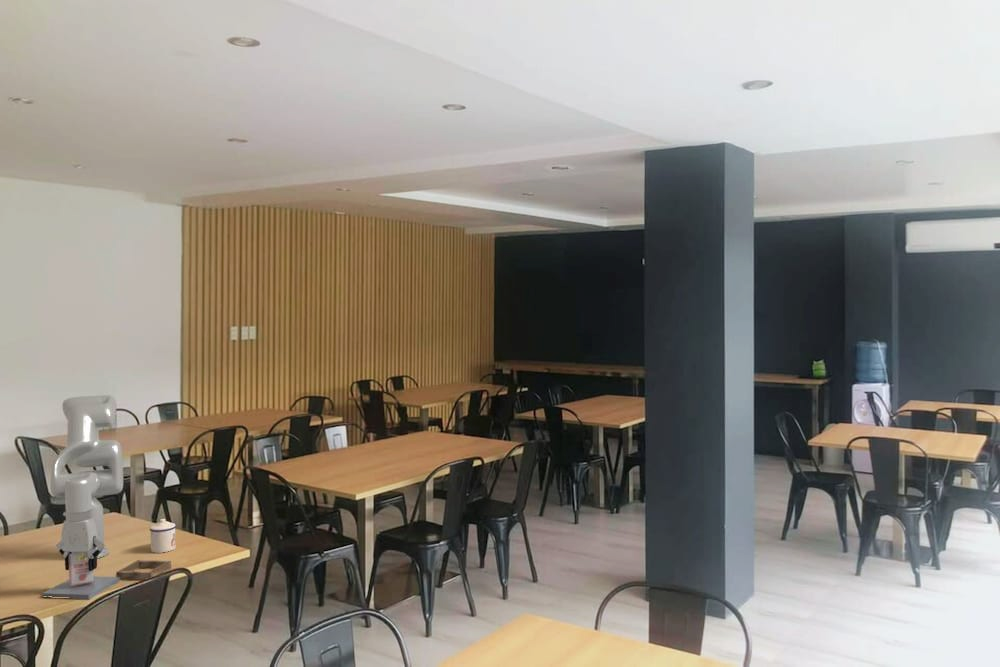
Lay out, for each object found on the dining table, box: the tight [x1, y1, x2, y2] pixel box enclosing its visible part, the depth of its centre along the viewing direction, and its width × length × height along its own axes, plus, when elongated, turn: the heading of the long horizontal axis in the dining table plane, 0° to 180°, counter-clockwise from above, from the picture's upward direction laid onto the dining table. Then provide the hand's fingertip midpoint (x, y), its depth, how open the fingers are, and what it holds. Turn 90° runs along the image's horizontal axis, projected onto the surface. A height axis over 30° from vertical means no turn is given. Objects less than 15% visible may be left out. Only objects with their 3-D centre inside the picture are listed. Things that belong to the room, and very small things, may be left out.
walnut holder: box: [115, 559, 172, 581], centre depth 271 cm, size 12×12×2 cm
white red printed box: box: [68, 550, 95, 586], centre depth 256 cm, size 4×7×10 cm, turn 123°
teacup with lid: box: [149, 518, 177, 554], centre depth 299 cm, size 12×9×12 cm
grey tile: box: [41, 575, 121, 600], centre depth 257 cm, size 16×16×2 cm
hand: (81, 568), depth 256 cm, fingers closed on white red printed box, 7 cm apart
